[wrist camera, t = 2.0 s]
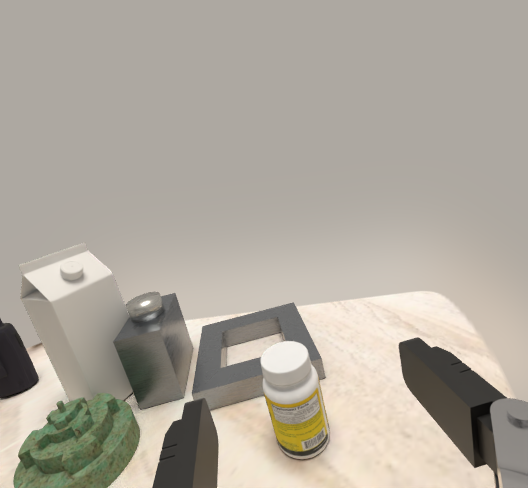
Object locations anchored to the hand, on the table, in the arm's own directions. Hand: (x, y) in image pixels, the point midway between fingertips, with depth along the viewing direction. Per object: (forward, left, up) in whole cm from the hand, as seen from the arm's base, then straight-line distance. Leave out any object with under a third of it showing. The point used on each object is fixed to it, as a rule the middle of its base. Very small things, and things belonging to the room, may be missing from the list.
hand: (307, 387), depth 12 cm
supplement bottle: (0, +11, -15) cm, 19 cm away
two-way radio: (-38, +31, -15) cm, 52 cm away
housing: (-7, +24, -15) cm, 29 cm away
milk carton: (-22, +25, -15) cm, 37 cm away
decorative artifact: (-21, +15, -15) cm, 30 cm away
